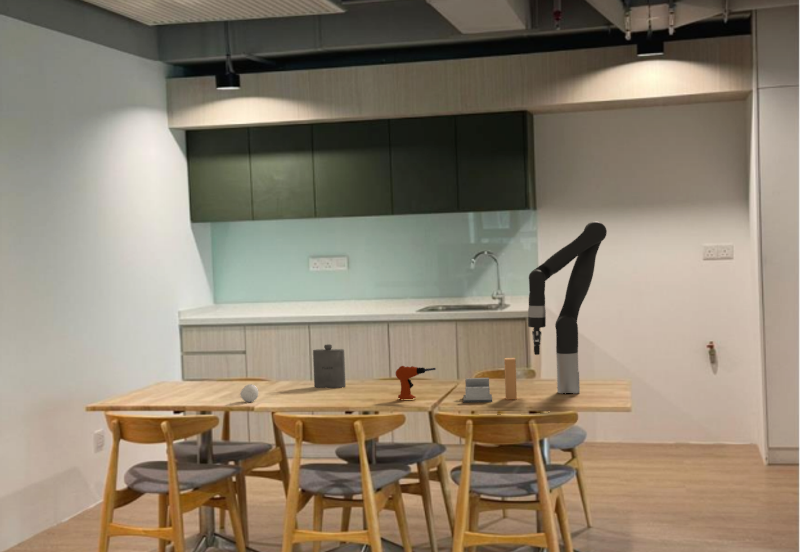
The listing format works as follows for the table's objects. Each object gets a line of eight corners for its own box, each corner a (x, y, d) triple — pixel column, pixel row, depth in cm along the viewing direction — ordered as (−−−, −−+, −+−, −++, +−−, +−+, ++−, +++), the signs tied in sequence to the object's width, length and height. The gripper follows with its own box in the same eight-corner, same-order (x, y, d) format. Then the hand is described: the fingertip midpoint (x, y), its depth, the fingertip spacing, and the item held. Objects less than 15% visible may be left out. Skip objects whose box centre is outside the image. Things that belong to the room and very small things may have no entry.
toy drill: (438, 397, 448) (432, 362, 448) (396, 402, 455) (391, 367, 455) (441, 396, 453) (436, 361, 453) (400, 400, 459) (395, 366, 459)
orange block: (516, 397, 451) (515, 357, 450) (516, 399, 446) (515, 359, 445) (505, 398, 451) (504, 358, 450) (505, 399, 446) (504, 359, 446)
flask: (312, 388, 498) (310, 345, 497) (316, 386, 504) (314, 344, 503) (343, 388, 495) (341, 345, 494) (346, 386, 500) (345, 343, 500)
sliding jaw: (489, 393, 456) (488, 377, 455) (489, 394, 453) (488, 378, 452) (465, 394, 456) (465, 378, 456) (465, 395, 453) (465, 379, 453)
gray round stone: (249, 399, 470) (249, 382, 470) (262, 401, 466) (262, 383, 465) (237, 402, 463) (236, 385, 463) (250, 403, 459) (249, 386, 459)
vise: (491, 396, 456) (491, 382, 456) (492, 402, 442) (491, 387, 442) (463, 397, 457) (463, 383, 457) (463, 402, 443) (462, 388, 443)
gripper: (546, 317, 451) (546, 355, 452) (545, 315, 466) (544, 352, 466) (528, 317, 452) (528, 355, 453) (527, 314, 466) (527, 351, 467)
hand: (536, 353), depth 459 cm, fingers open, 8 cm apart
